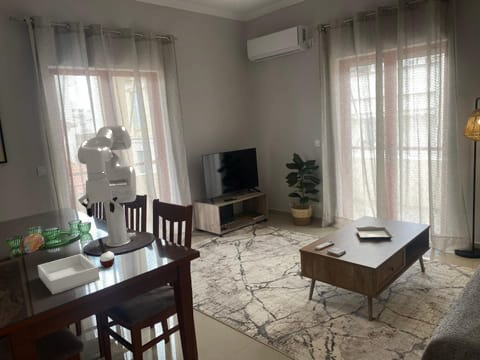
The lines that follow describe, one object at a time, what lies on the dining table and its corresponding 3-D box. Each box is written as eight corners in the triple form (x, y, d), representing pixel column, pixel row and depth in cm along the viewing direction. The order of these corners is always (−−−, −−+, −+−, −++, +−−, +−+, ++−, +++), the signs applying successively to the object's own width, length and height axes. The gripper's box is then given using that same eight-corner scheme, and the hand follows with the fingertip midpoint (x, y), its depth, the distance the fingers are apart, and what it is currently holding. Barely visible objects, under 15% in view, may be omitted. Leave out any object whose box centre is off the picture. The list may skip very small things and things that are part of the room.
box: (82, 264, 166) (81, 253, 165) (99, 279, 149) (98, 266, 148) (39, 277, 154) (37, 265, 153) (52, 294, 138) (50, 281, 137)
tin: (25, 255, 182) (22, 239, 181) (20, 255, 183) (17, 239, 181) (46, 245, 197) (44, 230, 195) (41, 245, 197) (39, 230, 196)
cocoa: (115, 268, 161) (114, 243, 158) (101, 271, 158) (99, 245, 156) (113, 260, 169) (111, 236, 167) (99, 263, 166) (97, 238, 164)
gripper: (113, 173, 164) (117, 209, 167) (73, 178, 153) (78, 217, 156) (119, 174, 159) (123, 211, 162) (78, 180, 148) (84, 220, 151)
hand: (101, 214), depth 159 cm, fingers open, 9 cm apart
